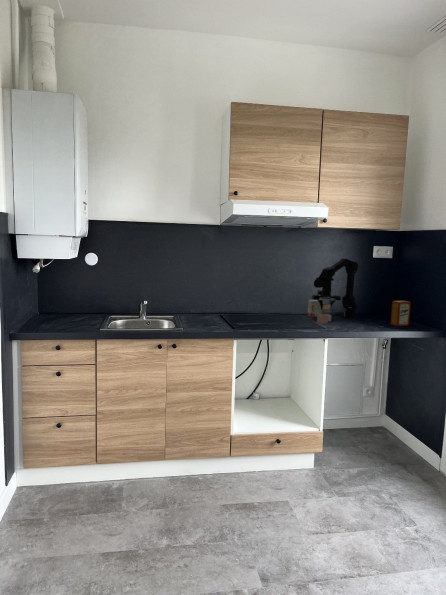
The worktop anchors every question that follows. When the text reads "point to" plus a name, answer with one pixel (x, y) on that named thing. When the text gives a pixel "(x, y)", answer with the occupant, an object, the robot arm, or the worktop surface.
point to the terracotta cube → (322, 318)
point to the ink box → (313, 308)
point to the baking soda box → (400, 313)
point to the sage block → (328, 316)
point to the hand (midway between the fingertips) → (325, 310)
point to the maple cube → (326, 308)
